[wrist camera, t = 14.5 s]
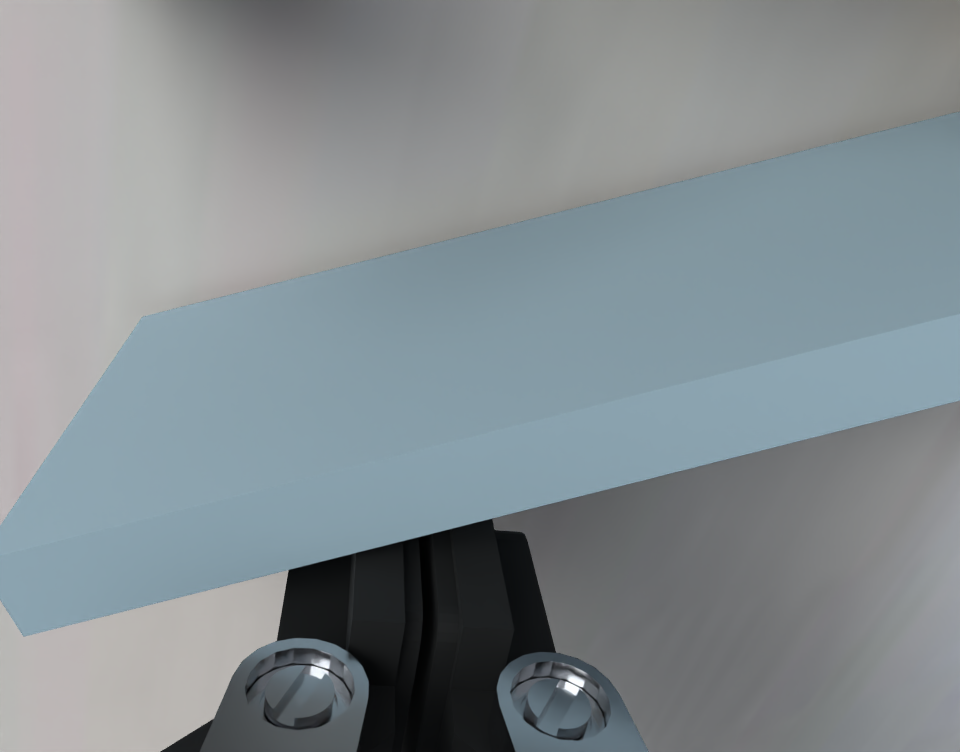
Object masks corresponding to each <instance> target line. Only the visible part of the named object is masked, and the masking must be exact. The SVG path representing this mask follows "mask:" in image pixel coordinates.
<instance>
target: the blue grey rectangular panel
mask: <svg viewBox="0 0 960 752" xmlns="http://www.w3.org/2000/svg"><path fill="white" fill-rule="evenodd" d="M956 401H960V112H956V113H952V114H948V115H944V116H940V117H936V118H932V119H928V120H924V121H920V122H916V123H912V124H908V125H904V126H900V127H896V128H892V129H888V130H884V131H880V132H876V133H872V134H868V135H864V136H860V137H856V138H852V139H848V140H844V141H840V142H836V143H832V144H828V145H824V146H820V147H816V148H812V149H808V150H804V151H801V152H797V153H793V154H789V155H785V156H781V157H777V158H773V159H769V160H765V161H761V162H757V163H753V164H749V165H745V166H741V167H737V168H733V169H729V170H725V171H721V172H717V173H713V174H709V175H705V176H701V177H697V178H693V179H689V180H685V181H681V182H677V183H673V184H669V185H665V186H661V187H657V188H653V189H649V190H645V191H641V192H637V193H633V194H629V195H625V196H621V197H617V198H613V199H609V200H605V201H602V202H598V203H594V204H590V205H586V206H582V207H578V208H574V209H570V210H566V211H562V212H558V213H554V214H550V215H546V216H542V217H538V218H534V219H530V220H526V221H522V222H518V223H514V224H510V225H506V226H502V227H498V228H494V229H490V230H486V231H482V232H478V233H474V234H470V235H466V236H462V237H458V238H454V239H450V240H446V241H442V242H438V243H434V244H430V245H426V246H422V247H418V248H414V249H410V250H406V251H402V252H399V253H395V254H391V255H387V256H383V257H379V258H375V259H371V260H367V261H363V262H359V263H355V264H351V265H347V266H343V267H339V268H335V269H331V270H327V271H323V272H319V273H315V274H311V275H307V276H303V277H299V278H295V279H291V280H287V281H283V282H279V283H275V284H271V285H267V286H263V287H259V288H255V289H251V290H247V291H243V292H239V293H235V294H231V295H227V296H223V297H219V298H215V299H211V300H207V301H203V302H200V303H196V304H192V305H188V306H184V307H180V308H176V309H172V310H168V311H164V312H160V313H156V314H152V315H148V316H144V317H142V318H141V320H140V321H139V323H138V324H137V326H136V327H135V328H134V330H133V331H132V333H131V334H130V336H129V337H128V339H127V340H126V342H125V343H124V345H123V346H122V348H121V349H120V350H119V352H118V353H117V355H116V356H115V358H114V359H113V361H112V362H111V364H110V365H109V367H108V368H107V370H106V371H105V373H104V374H103V375H102V377H101V378H100V380H99V381H98V383H97V384H96V386H95V387H94V389H93V390H92V392H91V393H90V395H89V396H88V398H87V399H86V400H85V402H84V403H83V405H82V406H81V408H80V409H79V411H78V412H77V414H76V415H75V417H74V418H73V420H72V421H71V422H70V424H69V425H68V427H67V428H66V430H65V431H64V433H63V434H62V436H61V437H60V439H59V440H58V442H57V443H56V445H55V446H54V447H53V449H52V450H51V452H50V453H49V455H48V456H47V458H46V459H45V461H44V462H43V464H42V465H41V467H40V468H39V470H38V471H37V472H36V474H35V475H34V477H33V478H32V480H31V481H30V483H29V484H28V486H27V487H26V489H25V490H24V492H23V493H22V495H21V496H20V497H19V499H18V500H17V502H16V503H15V505H14V506H13V508H12V509H11V511H10V512H9V514H8V515H7V517H6V518H5V519H4V521H3V522H2V524H1V525H0V600H1V602H2V604H3V605H4V607H5V608H6V610H7V611H8V613H9V615H10V616H11V618H12V619H13V621H14V622H15V624H16V625H17V627H18V629H19V630H20V632H21V633H22V635H23V636H28V635H32V634H36V633H40V632H44V631H48V630H52V629H56V628H60V627H64V626H68V625H72V624H76V623H80V622H84V621H88V620H92V619H96V618H100V617H104V616H108V615H112V614H116V613H119V612H123V611H127V610H131V609H135V608H139V607H143V606H147V605H151V604H155V603H159V602H163V601H167V600H171V599H175V598H179V597H183V596H187V595H191V594H195V593H199V592H203V591H207V590H211V589H215V588H219V587H223V586H227V585H230V584H234V583H238V582H242V581H246V580H250V579H254V578H258V577H262V576H266V575H270V574H274V573H278V572H282V571H286V570H290V569H294V568H298V567H302V566H306V565H310V564H314V563H318V562H322V561H326V560H330V559H334V558H338V557H341V556H345V555H349V554H353V553H357V552H361V551H365V550H369V549H373V548H377V547H381V546H385V545H389V544H393V543H397V542H401V541H405V540H409V539H413V538H417V537H421V536H425V535H429V534H433V533H437V532H441V531H445V530H449V529H452V528H456V527H460V526H464V525H468V524H472V523H476V522H480V521H484V520H488V519H492V518H496V517H500V516H504V515H508V514H512V513H516V512H520V511H524V510H528V509H532V508H536V507H540V506H544V505H548V504H552V503H556V502H560V501H563V500H567V499H571V498H575V497H579V496H583V495H587V494H591V493H595V492H599V491H603V490H607V489H611V488H615V487H619V486H623V485H627V484H631V483H635V482H639V481H643V480H647V479H651V478H655V477H659V476H663V475H667V474H671V473H674V472H678V471H682V470H686V469H690V468H694V467H698V466H702V465H706V464H710V463H714V462H718V461H722V460H726V459H730V458H734V457H738V456H742V455H746V454H750V453H754V452H758V451H762V450H766V449H770V448H774V447H778V446H782V445H785V444H789V443H793V442H797V441H801V440H805V439H809V438H813V437H817V436H821V435H825V434H829V433H833V432H837V431H841V430H845V429H849V428H853V427H857V426H861V425H865V424H869V423H873V422H877V421H881V420H885V419H889V418H893V417H896V416H900V415H904V414H908V413H912V412H916V411H920V410H924V409H928V408H932V407H936V406H940V405H944V404H948V403H952V402H956Z"/></svg>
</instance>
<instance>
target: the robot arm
mask: <svg viewBox="0 0 960 752" xmlns="http://www.w3.org/2000/svg"><path fill="white" fill-rule="evenodd" d="M161 752H649V751H648V749H647V747H646V745H645V743H644V742H643V740H642V738H641V736H640V734H639V732H638V730H637V728H636V726H635V724H634V722H633V720H632V718H631V716H630V714H629V712H628V710H627V708H626V706H625V704H624V702H623V700H622V699H621V697H620V695H619V693H618V692H617V690H616V689H615V688H614V686H613V685H612V683H611V682H610V680H609V679H607V678H606V677H605V676H604V675H603V674H602V673H600V672H599V671H598V670H597V669H596V668H595V667H593V666H591V665H589V664H587V663H585V662H583V661H581V660H579V659H578V658H574V657H571V656H567V655H564V654H560V653H556V651H555V647H554V643H553V639H552V636H551V632H550V628H549V624H548V620H547V616H546V612H545V608H544V604H543V600H542V596H541V592H540V589H539V585H538V581H537V577H536V573H535V569H534V565H533V561H532V557H531V553H530V549H529V545H528V542H527V539H526V536H525V534H523V533H522V532H510V531H498V530H494V526H493V521H492V519H488V520H484V521H480V522H476V523H472V524H468V525H464V526H460V527H456V528H452V529H449V530H445V531H441V532H437V533H433V534H429V535H425V536H421V537H417V538H413V539H409V540H405V541H401V542H397V543H393V544H389V545H385V546H381V547H377V548H373V549H369V550H365V551H361V552H357V553H353V554H349V555H345V556H341V557H338V558H334V559H330V560H326V561H322V562H318V563H314V564H310V565H306V566H302V567H298V568H294V569H290V570H289V572H288V578H287V584H286V590H285V596H284V602H283V608H282V614H281V620H280V626H279V632H278V638H277V641H276V642H273V643H271V644H268V645H266V646H264V647H261V648H259V649H257V650H256V651H254V652H253V653H252V654H251V655H249V656H248V657H247V658H245V659H244V660H243V661H242V662H241V664H240V665H239V667H238V668H237V670H236V671H235V673H234V674H233V676H232V678H231V681H230V683H229V685H228V688H227V690H226V692H225V694H224V697H223V699H222V701H221V704H220V706H219V708H218V711H217V713H216V715H215V718H214V719H213V720H211V721H209V722H208V723H206V724H205V725H203V726H201V727H200V728H198V729H197V730H195V731H193V732H192V733H190V734H188V735H187V736H185V737H184V738H182V739H180V740H179V741H177V742H175V743H174V744H172V745H171V746H169V747H167V748H166V749H164V750H162V751H161Z"/></svg>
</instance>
